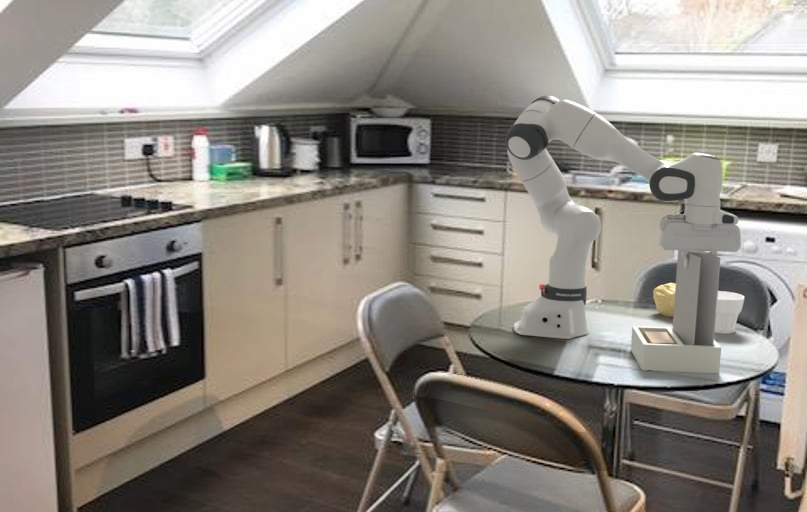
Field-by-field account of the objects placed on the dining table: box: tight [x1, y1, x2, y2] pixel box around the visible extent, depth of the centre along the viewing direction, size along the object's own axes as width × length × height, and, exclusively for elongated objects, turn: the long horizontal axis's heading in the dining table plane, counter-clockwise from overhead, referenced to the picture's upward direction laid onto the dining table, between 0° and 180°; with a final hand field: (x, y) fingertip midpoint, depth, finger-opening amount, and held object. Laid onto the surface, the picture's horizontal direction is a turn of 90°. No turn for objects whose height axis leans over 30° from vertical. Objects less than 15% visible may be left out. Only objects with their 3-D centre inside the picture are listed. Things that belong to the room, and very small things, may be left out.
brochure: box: [672, 250, 721, 346], centre depth 231 cm, size 14×6×30 cm, turn 4°
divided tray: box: [630, 325, 722, 374], centre depth 234 cm, size 20×18×7 cm
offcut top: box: [644, 331, 675, 344], centre depth 234 cm, size 6×11×4 cm, turn 175°
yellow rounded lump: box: [653, 282, 676, 318], centre depth 283 cm, size 11×12×11 cm
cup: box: [714, 290, 745, 335], centre depth 266 cm, size 12×12×11 cm
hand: (697, 267), depth 229 cm, fingers closed on brochure, 4 cm apart
